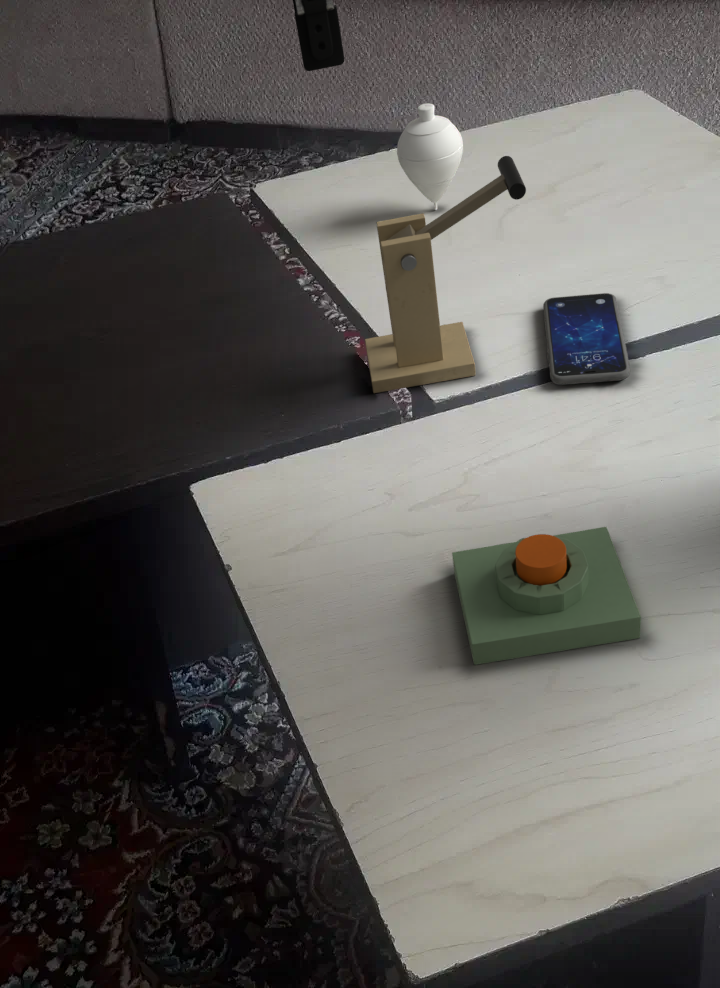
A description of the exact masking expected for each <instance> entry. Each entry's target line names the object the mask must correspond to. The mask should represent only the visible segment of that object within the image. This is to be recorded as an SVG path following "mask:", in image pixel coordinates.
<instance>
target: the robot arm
mask: <svg viewBox="0 0 720 988" xmlns="http://www.w3.org/2000/svg"><path fill="white" fill-rule="evenodd" d="M292 5H293V9H294V10H293V11H294V19H295V26H296V31H297V36H298V37H297V38H298V42H299V48H300V54H301V60H302V66H303V68H304V70H305V71H306V72H313V71H318V70H324V69H327V68H333V67H338V66H342V65H343V64H344V63H345V53H344V47H343V46H344V45H343V39H342V32H341V26H340V20H339V14H338V7H337V4H334V0H292Z"/></svg>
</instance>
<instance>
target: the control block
mask: <svg viewBox="0 0 720 988" xmlns="http://www.w3.org/2000/svg"><path fill="white" fill-rule="evenodd" d="M552 536H555V537H557V538H559V539H560V540H561V541H562V542H563V543H564V544H565V546H566V563H567V569H566V572H565V574H564V576H563V577H562V578H561V579H560V580H558V581H556V582H554V583H552V584H548V585H533V584H529V583H527V582H525V581H523V580H522V579H521V578H520V577H519V576H518V574H517V570H516V554H515V551H516V547H517V546H518V544H519V543H520V542H521V541H522V540H523V539H525V538H526V537H523V538H520V539H518V540H517V541H512V542H505V543H500V544H496V545H488V546H481V547H476V548H470V549H466V550H459V551H453V552H452V553H451V558H452V564H453V565H452V566H453V573H454V574H453V575H454V578H455V583H456V588H457V592H458V597H459V602H460V606H461V610H462V615H463V621H464V624H465V629H466V634H467V640H468V644H469V648H470V652H471V657H472V662H473V665H474V666H476V665H483V664H488V663H489V664H490V663H494V662H501V661H508V660H514V659H520V658H525V657H531V656H532V657H533V656H538V655H544V654H550V653H555V652H562V651H570V650H574V649H575V650H576V649H581V648H587V647H593V646H599V645H605V644H606V645H607V644H611V643H617V642H624V641H631V640H636V639H640V638H641V626H642V625H641V624H642V622H641V621H642V616H641V613H640V611H639V607H638V605H637V603H636V600H635V597H634V595H633V592H632V589H631V586H630V584H629V581H628V579H627V577H626V573H625V570H624V568H623V566H622V564H621V561H620V558H619V555H618V553H617V550H616V547H615V545H614V543H613V539H612V537H611V535H610V532H609V529H608V527H607V526H601V527H595V528H591V529H584V530H583V529H582V530H578V531H572V532H571V531H570V532H566V533H560V534H554V535H552Z"/></svg>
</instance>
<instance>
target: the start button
mask: <svg viewBox="0 0 720 988" xmlns="http://www.w3.org/2000/svg"><path fill="white" fill-rule="evenodd" d="M524 538H525V539H523V540H522V541H521V542H520V543H519V544H518V546H517V547H516V551H515V554H516V570H517V574H518V576H519V577H520V578H521V579H522V580H523V581H525V582H527V583H529V584H533V585H548V584H552V583H554V582H556V581H558V580H560V579H561V578H562V577H563V576H564V574H565V572H566V569H567V563H566V546H565V544H564V543H563V542H562V541H561V540H560V539H559V538H557V537H555V536H553V535H551V534H546V533H540V534H539V533H538V534H533V535H530V536H527V537H524Z"/></svg>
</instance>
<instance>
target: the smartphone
mask: <svg viewBox="0 0 720 988" xmlns="http://www.w3.org/2000/svg"><path fill="white" fill-rule="evenodd" d="M542 308H543V318H544V326H545V338H546V348H547V352H546V357H547V358H546V359H547V364H548V366H549V367H548V368H549V377H550V380H551V382H553V383H554V384H556V385H561V386H562V385H563V386H564V385H575V384H576V385H577V384H587V383H588V384H589V383H602V382H615V381H622V380H625V379H627V378H628V377H629V376H630V373H631V368H630V360H629V354H628V350H627V344H626V342H625V337H624V332H623V327H622V321H621V316H620V311H619V305H618V300H617V297H616V296H615V295H614V294H612V293H608V292H603V293H592V294H591V293H590V294H580V295H569V296H567V295H566V296H557V297H556V296H555V297H550V298H548V299H546V300H545V301H544V302H543V306H542Z"/></svg>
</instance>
